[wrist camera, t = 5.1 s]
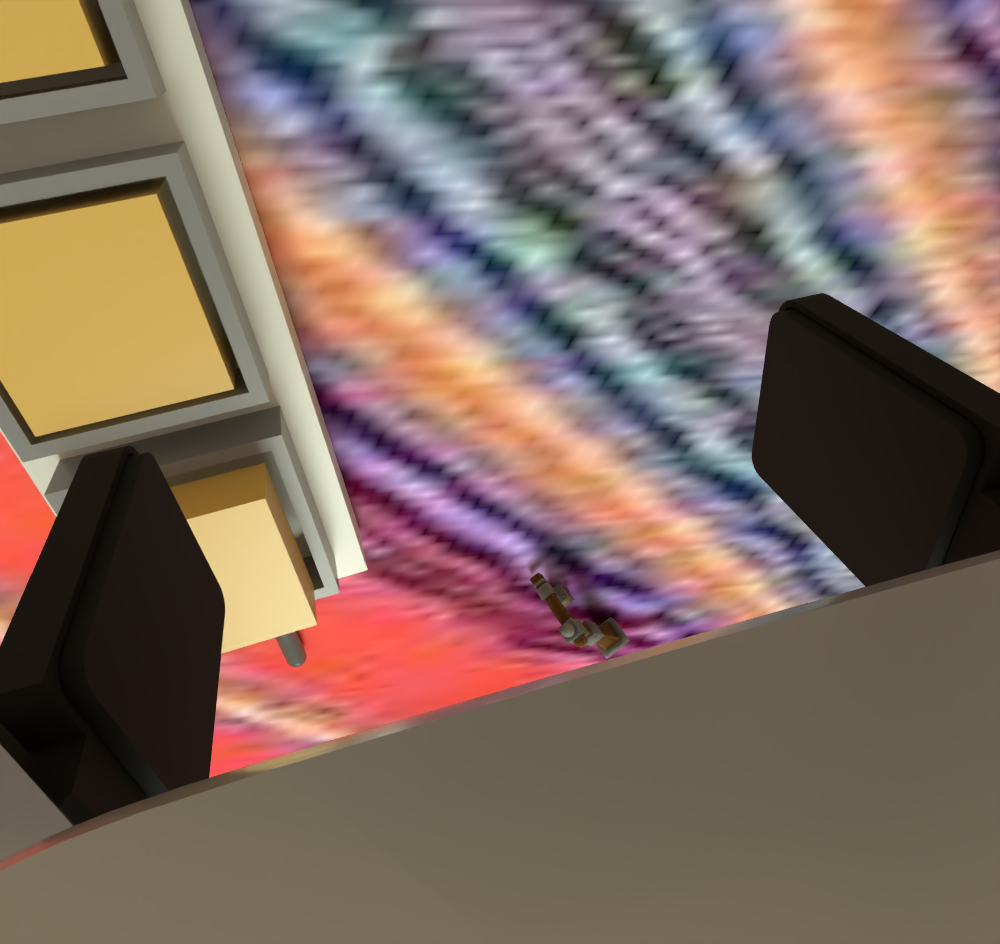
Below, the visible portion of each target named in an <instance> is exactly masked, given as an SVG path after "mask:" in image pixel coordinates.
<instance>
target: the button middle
mask: <svg viewBox="0 0 1000 944" xmlns="http://www.w3.org/2000/svg"><path fill="white" fill-rule="evenodd" d="M235 370H236V360H235V357H234V355H233V352H232V350H231V347H230V344H229V342H228V339H227V337H226V334H225V331H224V329H223V326H222V324H221V321H220V319H219V316H218V313H217V311H216V308H215V306H214V303H213V301H212V298H211V295H210V293H209V290H208V288H207V285H206V282H205V280H204V277H203V275H202V272H201V270H200V267H199V264H198V262H197V259H196V257H195V254H194V251H193V249H192V246H191V244H190V241H189V239H188V236H187V233H186V231H185V228H184V226H183V223H182V220H181V218H180V215H179V213H178V210H177V208H176V205H175V202H174V200H173V197H172V195H171V192H170V190H169V187H168V184H167V182H166V179H160V180H155V181H149V182H144V183H139V184H133V185H128V186H123V187H118V188H112V189H107V190H102V191H96V192H91V193H86V194H80V195H75V196H70V197H65V198H59V199H54V200H49V201H43V202H38V203H33V204H27V205H22V206H17V207H12V208H6V209H1V210H0V380H1V382H2V384H3V385H4V387H5V388H6V390H7V392H8V393H9V395H10V396H11V398H12V400H13V401H14V403H15V405H16V406H17V408H18V409H19V411H20V413H21V414H22V416H23V417H24V419H25V421H26V422H27V424H28V426H29V427H30V429H31V430H32V432H33V434H34V435H35V437H37V436H41V435H45V434H49V433H54V432H58V431H62V430H66V429H70V428H74V427H79V426H83V425H87V424H91V423H95V422H99V421H103V420H108V419H112V418H116V417H120V416H124V415H128V414H133V413H137V412H141V411H145V410H149V409H153V408H158V407H162V406H166V405H170V404H174V403H178V402H182V401H187V400H191V399H195V398H199V397H203V396H207V395H212V394H216V393H220V392H224V391H228V390H232V389H234V386H235Z"/></svg>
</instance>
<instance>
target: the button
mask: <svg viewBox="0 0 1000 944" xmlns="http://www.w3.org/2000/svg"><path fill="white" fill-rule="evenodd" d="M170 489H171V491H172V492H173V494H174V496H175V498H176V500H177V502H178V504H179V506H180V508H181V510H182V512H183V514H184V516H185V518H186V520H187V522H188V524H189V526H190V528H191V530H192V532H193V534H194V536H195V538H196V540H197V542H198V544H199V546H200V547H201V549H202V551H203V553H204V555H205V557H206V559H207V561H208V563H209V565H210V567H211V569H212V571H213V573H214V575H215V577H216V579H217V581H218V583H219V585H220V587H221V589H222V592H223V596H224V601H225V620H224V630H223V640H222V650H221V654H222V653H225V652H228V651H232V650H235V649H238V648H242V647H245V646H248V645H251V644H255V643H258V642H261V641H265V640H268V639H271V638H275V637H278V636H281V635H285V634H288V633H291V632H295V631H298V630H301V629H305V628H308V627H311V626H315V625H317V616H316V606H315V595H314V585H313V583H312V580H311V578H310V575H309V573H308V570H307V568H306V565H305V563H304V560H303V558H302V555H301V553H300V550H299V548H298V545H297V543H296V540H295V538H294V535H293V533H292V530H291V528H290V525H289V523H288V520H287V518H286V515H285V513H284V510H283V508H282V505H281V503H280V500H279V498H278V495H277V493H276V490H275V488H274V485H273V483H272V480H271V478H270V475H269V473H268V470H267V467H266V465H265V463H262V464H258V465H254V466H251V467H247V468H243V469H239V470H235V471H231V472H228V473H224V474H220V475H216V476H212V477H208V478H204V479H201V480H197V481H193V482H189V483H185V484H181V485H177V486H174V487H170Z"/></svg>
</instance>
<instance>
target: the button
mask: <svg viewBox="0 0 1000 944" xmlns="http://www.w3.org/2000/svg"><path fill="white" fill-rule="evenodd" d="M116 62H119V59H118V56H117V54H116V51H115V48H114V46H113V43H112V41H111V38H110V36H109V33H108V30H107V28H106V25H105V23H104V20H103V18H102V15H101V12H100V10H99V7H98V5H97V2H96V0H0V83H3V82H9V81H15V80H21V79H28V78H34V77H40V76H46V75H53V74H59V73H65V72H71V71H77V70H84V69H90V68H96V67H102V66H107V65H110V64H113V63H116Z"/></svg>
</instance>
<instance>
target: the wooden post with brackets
mask: <svg viewBox="0 0 1000 944" xmlns="http://www.w3.org/2000/svg"><path fill="white" fill-rule="evenodd" d="M530 581H531V582H532V583H533V586H534V587H535V588H536V589H537V590H536V592H537V593H538V595H539V596H540V598H541V599H542V600H543V601H545V602H546V603H547V605H548V606H549V608H550V609H551V611H552V612H553V613H554V615H555V616H556V618H557V619H558V621H559V622H560V624H561V626H560V627H559V628H558V630H559V631H560V633H561V634H562V636H563V637H564V639H565V640H566V641H567V643H574V644H575V645H576V646H578V647H583V646H584V645H591V646H592V645H593V644H596V645H597V646H598V648H599V649H600V651H601V652H602V654H603V655H604V657H606V658H608V657H610V656H611V655H612V654H613V653H615V652H616V651H617V650H619V649H620V648H621V647H622V646H624V645H625V644H626V643H628V642H629V641H630V640H629V639H628V638H627V636H626V635H625V633H624V632H623V631H622V629H621V628H620V626H619V625H618V624H617V622H616V621H615V620H614V618H611V617H610V618H608V619H607V620H606V621H605V622H603V623H602V624H601V625H599V626H597V625H596V624H595V622H594V623H592V622H589V621H587V620H585V621H584V622H582V623H581V622H580V620H579V619H577V620H576V619H574V618H573V617H572V616H571V614H570V613H569V612H568V611H567V610H566V609H565V606H567V605H568V604H569V603H570V602H572V601H573V600H574V599H573V597H572V596H571V595H570V593H569V592H568V590H567V589H566V588H562V587H561V585H560V584H559V583H557V584H556V585H555V586H554V587H552V586H551V585H550V584H549V583H547V580H546V579H544V577H543V575H542V574H540V573H537V574H536V575H535V576H533V577H532V578H531V579H530Z"/></svg>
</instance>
